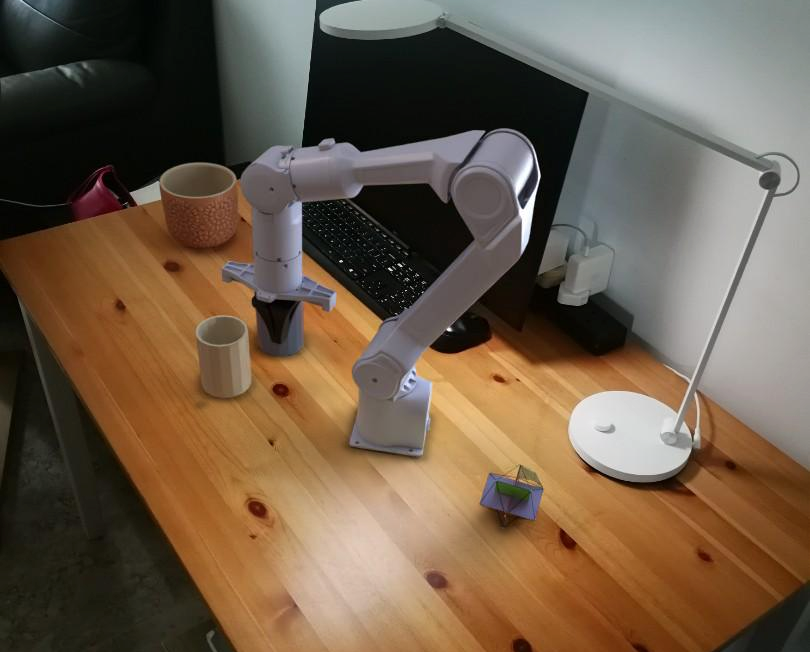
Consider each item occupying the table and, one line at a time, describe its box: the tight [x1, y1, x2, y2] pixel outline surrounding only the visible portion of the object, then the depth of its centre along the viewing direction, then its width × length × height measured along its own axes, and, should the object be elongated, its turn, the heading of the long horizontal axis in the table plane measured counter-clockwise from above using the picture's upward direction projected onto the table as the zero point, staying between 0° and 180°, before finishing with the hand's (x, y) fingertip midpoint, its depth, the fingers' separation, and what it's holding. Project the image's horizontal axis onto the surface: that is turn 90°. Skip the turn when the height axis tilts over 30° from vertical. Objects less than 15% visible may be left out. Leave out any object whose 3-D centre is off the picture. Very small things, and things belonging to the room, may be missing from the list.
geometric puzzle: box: [478, 463, 545, 529], centre depth 100 cm, size 7×7×8 cm
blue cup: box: [253, 291, 305, 358], centre depth 122 cm, size 7×7×9 cm
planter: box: [158, 162, 239, 250], centre depth 141 cm, size 12×12×11 cm
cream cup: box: [194, 314, 252, 399], centre depth 114 cm, size 7×7×9 cm
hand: (279, 339), depth 108 cm, fingers closed
